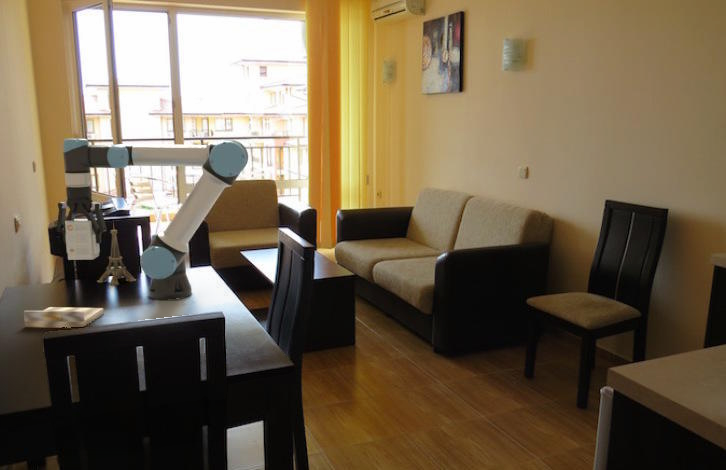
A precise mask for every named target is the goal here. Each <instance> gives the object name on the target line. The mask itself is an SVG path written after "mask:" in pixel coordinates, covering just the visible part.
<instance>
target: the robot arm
mask: <svg viewBox="0 0 726 470" xmlns="http://www.w3.org/2000/svg"><path fill="white" fill-rule="evenodd" d="M62 150H63V151H62V155H63V163H64V176H65V180H64V181H65V185H66V187H65V191H66V192H65V193H66V202H65V201H62V202H58V203H57V207H58V213H57V214H58V215H57V223H56V233H57V232H59V233H61V234H62V237H63V238H62V239H63V243H64V244H65V246H66V247H65V248H66V249H67V240H66V228H65V221H71V220H74V219H76V216H77V214H80V215H84V217H86V218H85V219H88V221H91V222H92V229H93V231H94V234H93V248H94V254H96V253H99V254H100V252H101V251H100V250H101V249H100V244H101V243H102V233H104V232H107V231H108V230H107V226H106V225H107V224H106V222H105V218H104V214H103V210H102V209H103V208H102V207H103V203H102V202H94V200H93V197H92V195H93V194H92V191H93V190H92V186H91V184H92V183H91V182H92V181H91V168H93V169H95V168H96V169H97V168H98V169H99V168H100V169H124V168H127V167H129V166H130V167H133V166H134V167H136V166H137V167H140V166H141V167H201V170H202V175H201V176H200V177H199V179H198V181H197V182H196V184H195V185H194V186H193V189H192V190H191V191H190V193H189V194H188V196H187V197H186V198H185V200H184V201H183V203H182V204H181V206H180V207H179V209H178V211H177V213H176V214H175V215H174V217H173V218H172V220H171V221H170V222H169V224H168V225H167V226H166V229H165V230H163V231H159V232H158V233H156V234H152V235H151V239H150V244H149V246H148V247H147V248H146V249H145V250H144V251H143V252H142V253H141V257H140V267H141V269H142V271H143V273H144V274H146V275H147V276H148V277H149V278H152V279H151V281H150V285H149V288H148V297H149V298H150V299H153V300H158V301H159V300H161V301H168V300H167V299H174V300H178V299H177V298H180V299H184V298H187V297H189V296H191V295H192V285H191V282H190V280H189V278H188V275H187V267H186V266H187V264H186V261H187V260H186V254H187V253H188V252H189V248H188V243H189V242H190V241H191V239H192V237H194V234H195V233H196V231H197V230H198V229H199V227H200V225H201V224H202V223H203V221H204V220H205V218H206V217H207V215H208V214H209V212H210V211H211V209H212V208H213V206H214V205H215V203H216V201H217V200H218V199H219V197H220V196H221V195H222V193H223V192H224V190H225V188H228V187H229V188H230V187H232V186H233V184H234V183H235V182H236V180H238V179H237V178H239V176H240V174H241V173H242V172H243V170H244V169H245V168H246V166H247V164H248V162H249V154H248V153H249V152H248V149H247V148H246V147H245V145H243V144H242V143H241V142H240V141H237V140H232V139H227V140H221V141H220V142H219V141H217V142H209V143H208V144H206V145H205V144H204V145H203V144H198V145H197V144H138V143H137V144H132V143H131V144H129V143H127V144H126V143H115V144H89V141H88V139H86V138H65V139H63V143H62ZM92 207H93V209H94V214H95V216H94V214H93V211H92ZM67 208H68V209H69V211H68V216H67V217H66V215H67ZM95 217H96V218H95ZM95 219H96V220H95ZM190 294H191V295H190ZM186 296H187V297H186ZM183 297H184V298H183Z"/></svg>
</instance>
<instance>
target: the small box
mask: <svg viewBox="0 0 726 470" xmlns="http://www.w3.org/2000/svg"><path fill="white" fill-rule="evenodd" d="M95 220H96V221H97V218H95ZM64 225H65V228H66V240H67V248H66V254H67V259H68V261H71V260H74V261H75V260H76V261H78V260H81V261H82V260H95V259H96V258H98V257H99V256H100V252H99V253H96V254H94V248H93V234H94V231H93V229H92V222H91V221H88V219H87V218H74V220H71V221H66V220H65V224H64Z"/></svg>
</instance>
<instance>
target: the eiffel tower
mask: <svg viewBox="0 0 726 470" xmlns="http://www.w3.org/2000/svg"><path fill="white" fill-rule="evenodd" d="M112 221H113V223H112V224H113V226H112V228H113V229H111V230H110V234H111V243H110V244H111V245H110V256H108V259H109V261H108V265H107V267H106V270H105V272H104V273H103V274H102V275H101V276H100V277H99V280H96V282H97V283H101V284H102V283H106V282H108V278H109V276H110V275H111V274H112V277H111V280H110V282H109V283H108V284H109V286H113V287H114V286H119V285H120V283H119V282H118V279H119V280H120V279H123V278H126V281H127V282H135V281H137V279H135V278H134V276H133V275H132V274H131V273H130V272H129V270H127V269H126V268H127V266H125V264H124V263H123V261H122V259H123V256H121V252H120V248H119V243H118V241H119V240H118V237H117V236H118V235H117V234H118V233H119V232H118V229H115V224H114V220H112Z"/></svg>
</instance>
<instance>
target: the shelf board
mask: <svg viewBox="0 0 726 470" xmlns="http://www.w3.org/2000/svg"><path fill="white" fill-rule="evenodd" d="M104 310H105V309H104V308H103V307H65V306H64V307H60V306H57V307H56V306H54V307H53V306H49V307H47V308H45V309H43V310H23V316H24V317H23V318H24V319H23V320H24V328H56V329H57V328H58V329H59V328H61V329H62V327H65V328H64V329H72V328H71V327H83V326H86V325H87V324H88V325H90V324H91V323H93V322H94V321H96V320H97V319H98V318H100V317H102V316H103V315H105V313H104ZM95 319H96V320H95ZM92 321H93V322H92ZM89 323H90V324H89ZM88 325H87V326H88ZM87 326H86V327H87ZM66 327H67V328H66Z"/></svg>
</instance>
